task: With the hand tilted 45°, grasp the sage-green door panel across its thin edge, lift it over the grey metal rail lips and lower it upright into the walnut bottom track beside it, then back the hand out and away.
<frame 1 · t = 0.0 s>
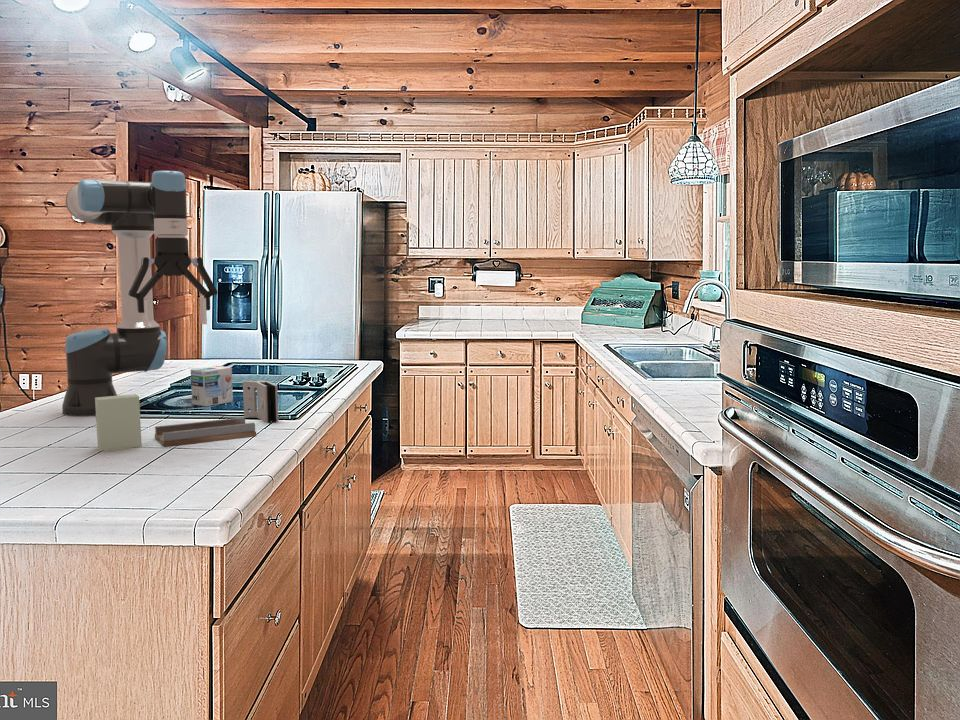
hand: (175, 325, 204), 28 cm above the worktop, tool pointing down, fingers open, 13 cm apart
door panel: (119, 447, 198), on the worktop
light bulb box: (212, 403, 255), on the worktop
hinge: (261, 419, 232), on the worktop
track: (205, 436, 209), on the worktop
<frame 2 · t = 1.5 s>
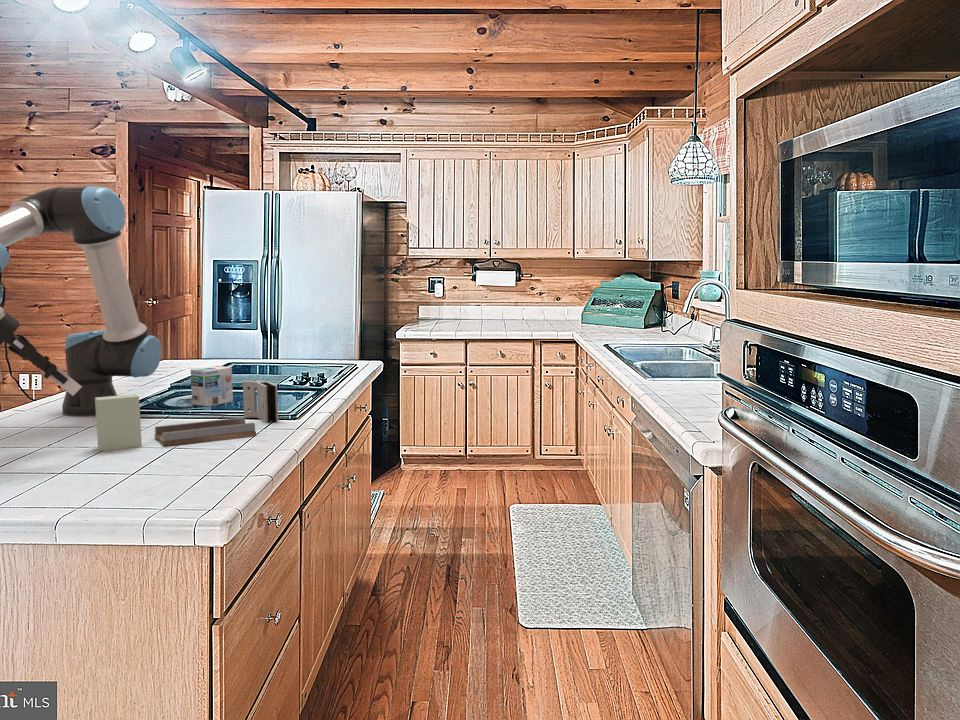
hand: (72, 387, 191), 15 cm above the worktop, tool tilted 45°, fingers open, 13 cm apart
nothing on the worktop moved.
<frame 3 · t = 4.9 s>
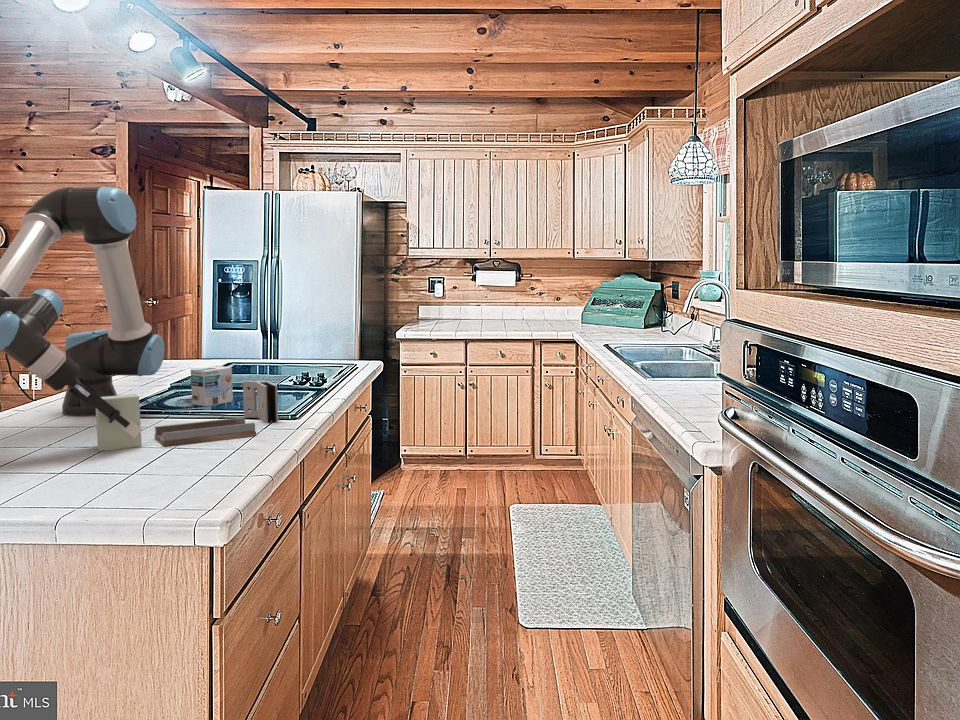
hand: (136, 431, 200), 3 cm above the worktop, tool tilted 45°, fingers closed on door panel, 4 cm apart
door panel: (119, 446, 198), on the worktop, touching gripper
everything else where it was.
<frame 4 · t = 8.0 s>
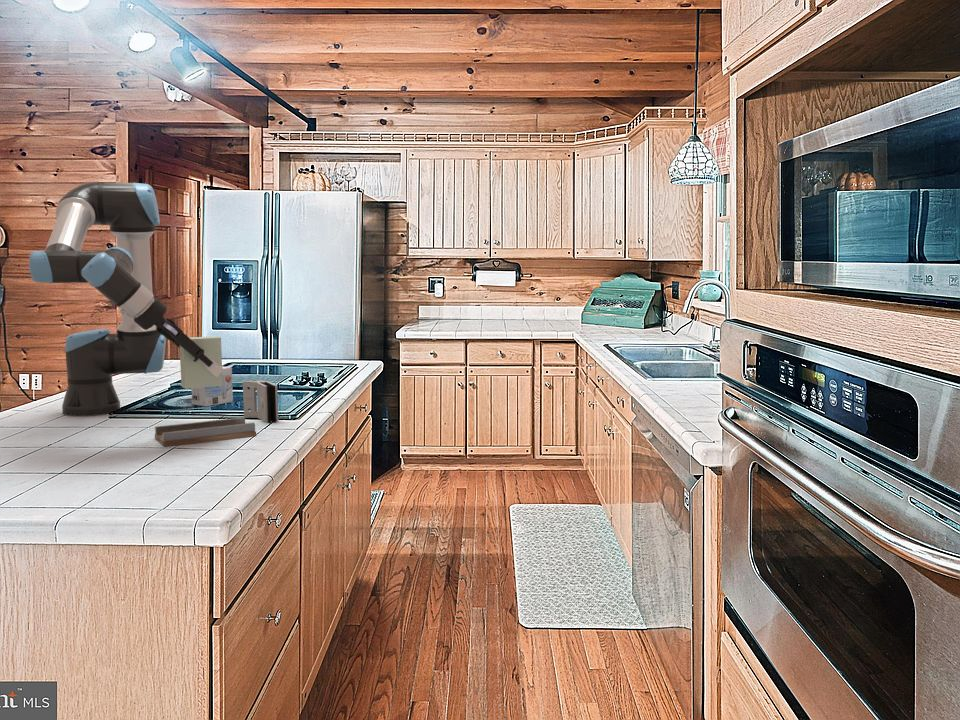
hand: (217, 371, 209), 16 cm above the worktop, tool tilted 45°, fingers closed on door panel, 4 cm apart
door panel: (202, 386, 207), point 13 cm above the worktop, touching gripper
everything else where it was.
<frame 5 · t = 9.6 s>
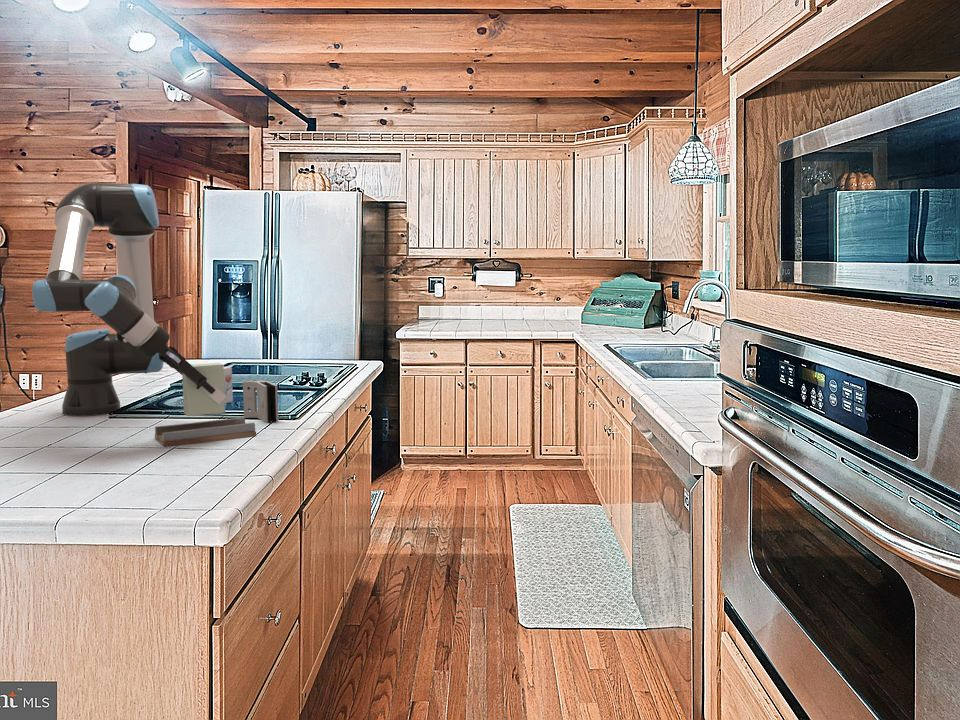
hand: (219, 398, 210), 9 cm above the worktop, tool tilted 45°, fingers closed on door panel, 4 cm apart
door panel: (204, 413, 208), point 6 cm above the worktop, touching gripper
everything else where it was.
when the fingers open (6 cm above the worktop, at t = 11.1 s): door panel drops 1 cm, resting on track.
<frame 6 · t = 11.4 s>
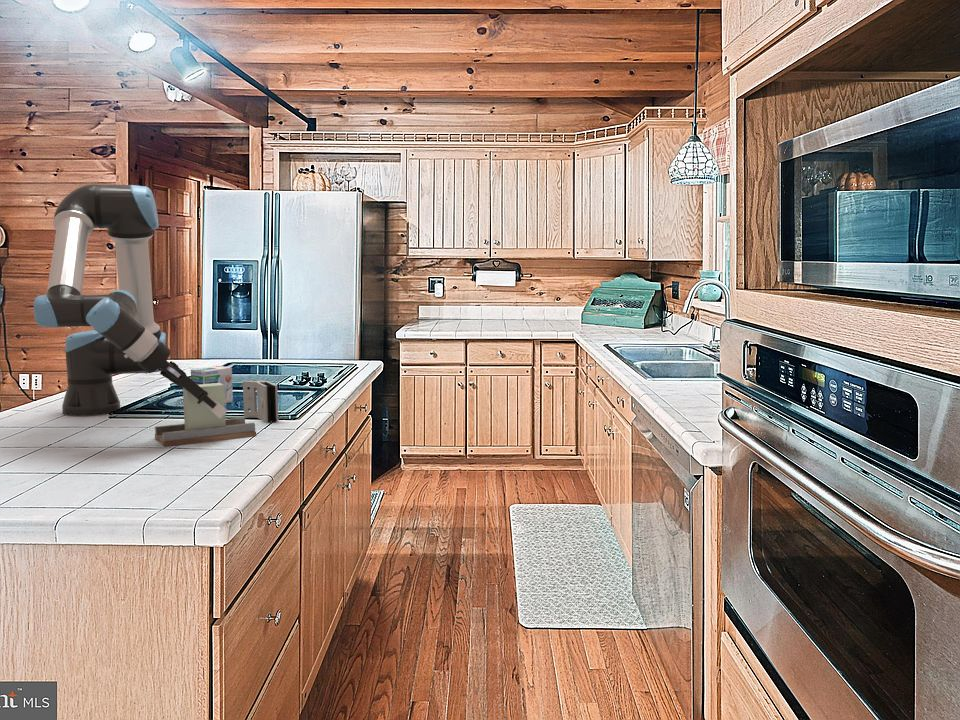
hand: (218, 411, 210), 6 cm above the worktop, tool tilted 45°, fingers open, 7 cm apart
door panel: (205, 432, 209), point 1 cm above the worktop, touching track
everything else where it was.
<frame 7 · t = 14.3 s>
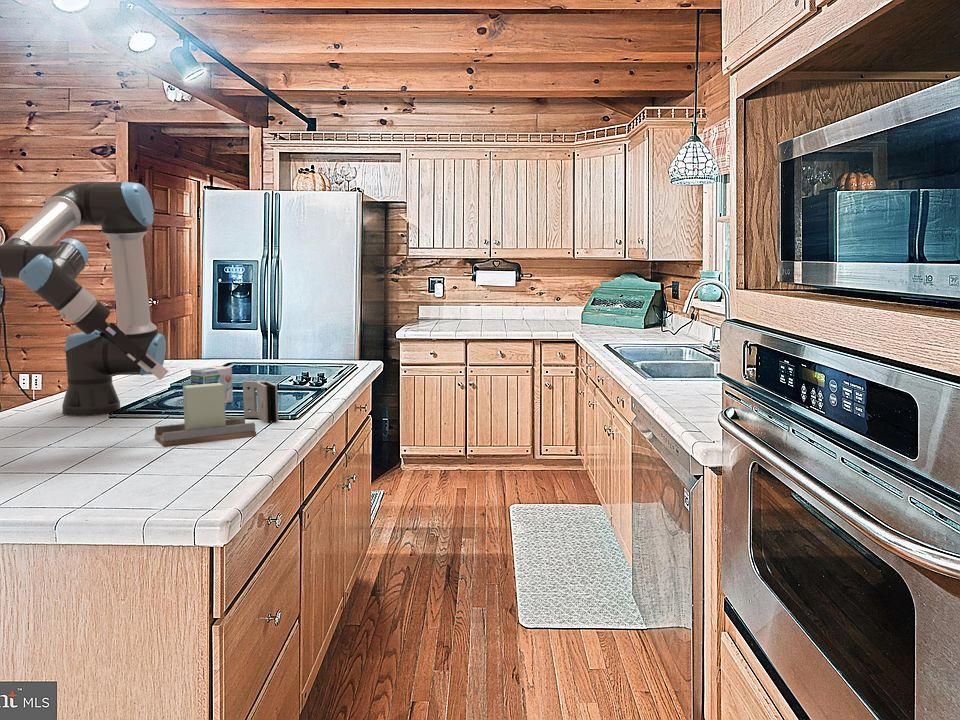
hand: (157, 372, 201), 17 cm above the worktop, tool tilted 45°, fingers open, 13 cm apart
nothing on the worktop moved.
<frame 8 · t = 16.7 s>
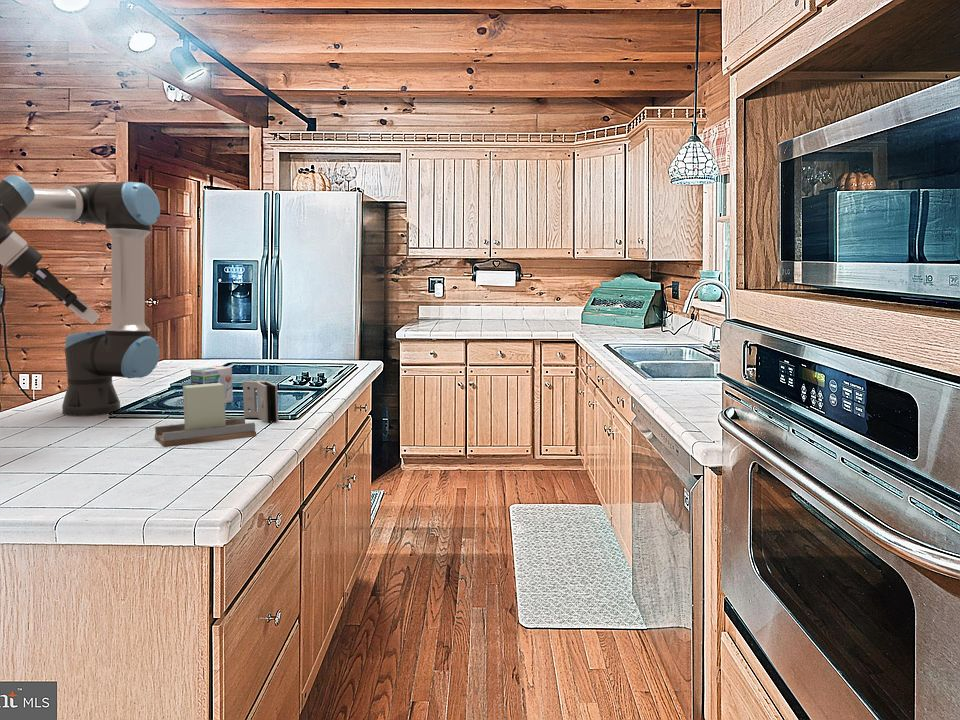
hand: (91, 318, 204), 30 cm above the worktop, tool tilted 45°, fingers open, 13 cm apart
nothing on the worktop moved.
at the end: door panel inside the target area on the track (0.0 cm from its centre), point 1.0 cm above the track's base; door panel tilted 0°; the gripper is holding nothing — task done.
